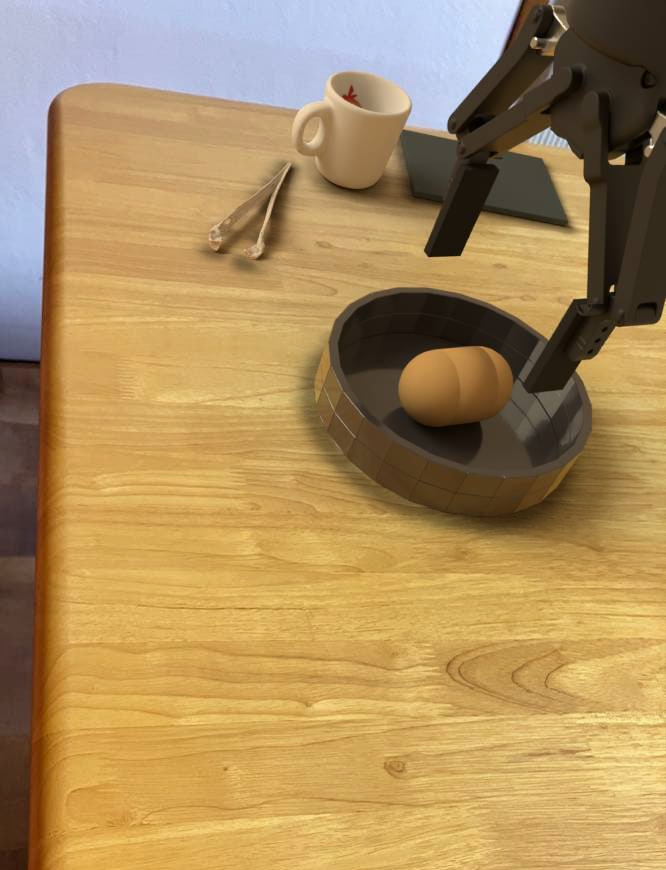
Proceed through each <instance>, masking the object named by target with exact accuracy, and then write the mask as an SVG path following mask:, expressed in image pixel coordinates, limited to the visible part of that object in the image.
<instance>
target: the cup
mask: <svg viewBox="0 0 666 870" xmlns="http://www.w3.org/2000/svg"><path fill="white" fill-rule="evenodd" d="M412 108H413V103H412V99H411V97H410V95H409V94H408V93H407V92H406V91H405V90H404V89H403V88H402V87H401V86H399V84H396V83H395V82H393V81H391V80H389V79H387V78H384V77H382V76H380V75H377V74H374V73H370V72H365V71H361V70H360V71H359V70H342V71H338V72H336V73H334V74H333V73H332V75H331V76H329V78H328V79H327V81H326V84H325V89H324V95H323V100H318V101H313V102H310V103H308V104H305V105H304V106H303V107H301V108H300V110H299V111H298V112H297V114H295V115H296V116H295V117H294V120H293V124H292V128H291V142H292V146H293V147H294V150H295V151H297V153H299V155H301V156H305V157H314V161H315V166H316V168H317V170H318V172H319V173H320V174H321V175H322V177H324V178H325V179H326V180H328V181H329V182H331V183H333V184H335V185H337V186H339V187H342V188H346V189H347V188H348V189H351V190H352V189H353V190H361V189H363V190H364V189H366V188H369V187H372V186H373V185H375V184H376V183H377V182H378V181H379V180H380V179H381V177H382V175H383V174H384V171H385V170H386V167H387V165H388V163H389V161H390V159H391V157H392V154H393V152H394V150H395V148H396V146H397V144H398V141H399V140H400V135H401V133H402V130H403V129H404V128H405V126H406V124H407V121H408V119H409V117H410V115H411V113H412ZM316 117H317V118H319V126H318V128H317V132H316V135H315V136H314V138H313V139H312V140H311V141H309V142H306V143H304V140H303V139H304V131H305V129H306V127H307V125H308V123H309V122H310V121H311V120H313V119H314V118H316Z"/></svg>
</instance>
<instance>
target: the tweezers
mask: <svg viewBox="0 0 666 870" xmlns="http://www.w3.org/2000/svg"><path fill="white" fill-rule="evenodd" d="M292 164H293V163H292V162H291V161H288V162H287V164H286V165H285V166H283V168H282V169H281V170H280V171H279V173H277V174H276V176H274V177H273V178H272V179H271V180H270V181H269V182H268V183H266V184H265V185H264V186H263V187H262V188H260V190H258V191H257V192H255V193H254V194H253V195H251V196H250V197H248V198H247V199H246V200H245V201H243V202H241V203H240V204H239V205H237V206H236V207H235V208H233V210H232V211H231V212H230V213H229V214H228V215H227V216H226V217H225V218H224V219H223V220H221V221H220V222H219V223H217V224H215V225H213V227H212V228H211V229H210V230H209V231H208V233H209V234H208V242H209V245H210V248H211V249H212V250H213V251H215V252H218V250H219V249H220V247H221V246H222V245H223V237H222V236H223V235H224V234H225V233H226V232H227V231H228V230H229V229H231V228H232V227H233V226H235V225H236V224H237V223H238V222H239V221H240V220H241V219H242V218H243V217H244V216H245V215H246V214H248V213H249V212H250V211H251V210H253V209H254V208H256V206H257V205H259V204H260V203H262V201H263V200H265V199H266V198H267V197H268V196H269V195H271V196H270V199H269V202H268V205H267V210H266V214H265V217H264V220H263V221H264V222H263V224H262V227H261V230H260V232H259V234H258V235H259V236H258V239H257V242H256V244H254V245H253V246H251V247H250V248H248V249H246V248H244V249H243V252H244V257H246V258H249V259H251V260H257V259H258V258H259V257H260V256H261V255H262V254H263V253H264V250H265V245H266V244H265V242H264V239H265V232H266V230H267V229H266V228H267V226H268V223H269V220H270V219H271V214H272V211H273V207H274V205H275V202H276V200H277V196H278V194H279V191H280V189H281V186H282V184H283V182H284V180H285V177H286V176H287V174H288V171H289V170H290V168H291V167H292ZM228 219H229V220H228ZM227 220H228V222H227V223H225V222H226V221H227Z"/></svg>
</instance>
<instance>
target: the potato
mask: <svg viewBox="0 0 666 870" xmlns="http://www.w3.org/2000/svg"><path fill="white" fill-rule="evenodd" d="M512 389H513V376H512V372H511V369H510V367H509V365H508V363H507V362H506V360H505V359H504V358H503V357H502V356H501V355H500V354H499V353H497V352H496V351H494V350H492V349H489V348H486V347H481V346H469V347H458V348H447V349H437V350H431V351H427V352H424V353H422V354H420V355H418V356H416V357H415V358H414V359H413V360H411V361H410V362H409V363H408V365H407V366H406V367H405V369H404V370H403V372H402V375H401V378H400V381H399V388H398V390H399V398H400V402H401V404H402V406H403V408H404V410H405V411H406V413H407V414H408V415H409V416H410V417H411V418H412V419H414V420H415V421H417V422H419V423H421V424H423V425H426V426H431V427H442V426H450V425H457V424H465V423H472V422H480V421H483V420H487V419H489V418H491V417H493V416H495V415H496V414H498V413H499V412H500V411H501V410H502V409H503V408H504V407H505V405H506V404H507V402H508V401H509V399H510V396H511V393H512Z"/></svg>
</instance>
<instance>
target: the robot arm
mask: <svg viewBox="0 0 666 870" xmlns="http://www.w3.org/2000/svg"><path fill="white" fill-rule="evenodd" d="M551 64H552V74H551V75H550V77H549V78H548V79H546V80H545V81H543V82H541V83H540V84H539V85H537V86H536V87H534V88H532V89H530V90H529V91H527V90H528V89H529V88H530V87H531V86H532V85H533V83H534V82H536V81H537V80H538V78H539V77H540V76H541V75H542V74H543V73H544V72H545V71H546V70H547V69H548V68H549V67H550V66H551ZM526 91H527V92H526ZM525 92H526V93H525ZM522 95H523V96H522ZM521 96H522V100H521V101H519V102H518V103H516V101H517V100H518V99H520V98H521ZM515 103H516V104H515ZM446 129H447V130H446V131H447V132H448V133H449V134H450V135H455V137H456V140H457V141H458V144H457V148H456V153H457V156H458V159H457V161H456V164H455V166H454V169H453V171H452V173H451V176H450V178H449V181H448V183H447V185H446V188H445V190H444V196H443V200H444V202H442V205H441V208H440V209H439V210H440V211H439V213H438V215H437V217H436V220H435V222H434V225H433V226H432V229H431V232H430V234H429V237H428V239H427V241H426V244H425V246H424V249H423V252H424V254H425V255H426V257H427V258H451V257H453V258H455V257H461V256H462V254H463V252H464V249H465V248H466V246H467V243H468V241H469V238H470V236H471V234H472V233H473V230H474V229H475V226H476V223H477V221H478V219H479V217H480V215H481V213H482V211H483V210H482V208H483V206H484V204H485V202H486V200H487V197H488V195H489V193H490V191H491V189H492V186H493V184H494V182H495V180H496V178H497V175H498V173H499V171H500V170H499V169H498V168H497V167H496V166H495V164H486V163H487V161H488V159H490V160H501V159H503V157H498V156H500V155H502V154H503V153H505V152H507V151H510V150H512V149H514V148H516V147H517V146H519V145H521V144H523V143H524V142H526V141H528V140H529V139H532V138H533V137H535V136H537V135H538V134H541V133H542V132H544V131H546V130H547V129H549V130H550V131H551V132H552V133H554V135H555V136H556V137H558V138H561V139H563V140H564V141H566V143H567V145H568V146H569V148H570V150H571V152H572V154H574V155H575V157H576V158H578V160H583V167H582V168H583V169H582V170H583V171H582V175H583V179H584V181H585V183H586V184H587V185H588V187H589V208H588V209H589V210H588V239H587V240H588V241H587V242H588V243H587V245H588V247H587V249H588V250H587V273H586V275H587V277H586V279H587V280H586V297H585V298H584V297H582V298H573V299H572V301H571V303H570V304H569V306H568V308H567V309H566V311H565V313H564V314H563V315H562V317H561V319H560V321H559V322H558V325H557V326H556V327H555V329H554V331H553V332H552V334H551V336H550V338H549V339H548V340H549V341H548V343H547V344H546V346H545V348H544V349H543V351H542V353H541V354H540V356H539V358H538V359H537V361H536V363H535V364H534V366H533V368H532V369H531V371H530V373H529V374H528V376H527V378H526V380H525V381H524V383H523V385H522V386H523V387H524V389H525V390H526V391H527V393H528V394H530V393H539V392H548V391H557V390H563V389H564V387H565V386H566V384H567V382H568V381H569V379H570V378H571V376H572V375H573V373H574V372H575V370H577V369H578V367H579V365H580V364H581V363H582V361H587V360H588V361H589V360H592V359H594V358H595V357H596V356H598V354H599V353H600V351H601V350H602V348H603V347H604V345H605V343H606V342H607V341H608V339H609V338H610V336H611V334H612V333H613V332H614V330H615V329H616V328H625V327H639V326H652V325H656V324H658V322H660V320H661V319H662V316H663V312H664V308H665V304H666V0H568V2H567V4H566V5H556V4H547V3H535V4H534V5H533V6H532V7H531V9H530V10H529V12H528V14H527V16H526V18H525V20H524V22H523V24H522V26H521V28H520V31H519V32H518V34H517V36H516V38H515V39H514V40H513V42H512V43H511V44H510V45H509V47H508V48H507V49H506V50H505V51H504V53H502V55H501V56H500V57H499V58H498V59H497V60H496V62H494V64H493V65H492V66H491V68H489V70H488V71H487V72H486V73H485V74H484V76H483V77H482V78H481V79H480V80H479V82H477V83H476V85H475V86H474V87H473V88H472V90H470V92H469V93H468V94H467V96H466V97H464V99H463V100H462V101H461V102H460V104H458V106H457V107H456V108H455V110H454V111H453V112H451V114H450V115H449V117H448V119H447V123H446ZM621 156H624V164H611V163H610V162H611V161H613V160H616V159H618V158H621ZM612 286H613V291H611V288H612Z"/></svg>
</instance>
